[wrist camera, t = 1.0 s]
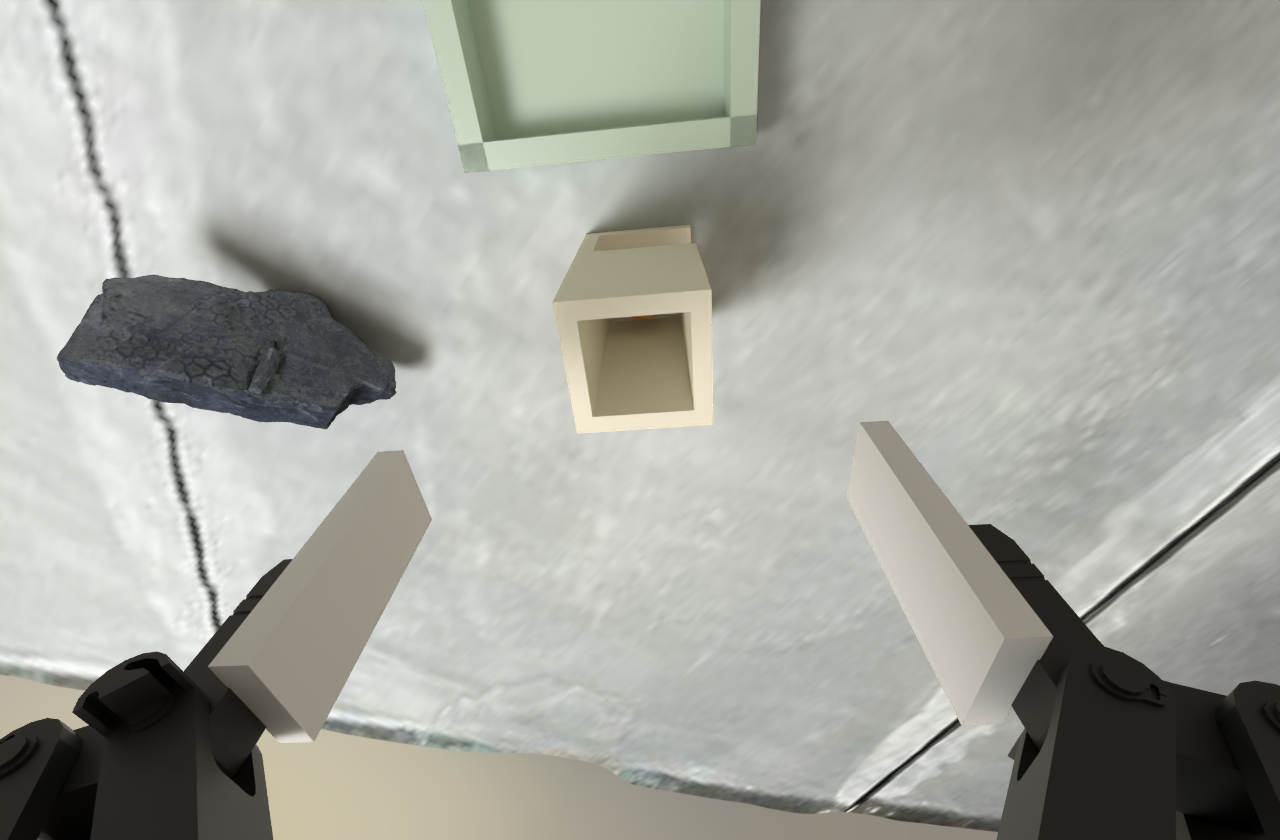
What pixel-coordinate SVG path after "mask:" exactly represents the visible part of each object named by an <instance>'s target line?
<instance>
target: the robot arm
mask: <svg viewBox="0 0 1280 840" xmlns="http://www.w3.org/2000/svg"><path fill="white" fill-rule="evenodd" d="M846 498H847V500H848V502H849V504H850V506H851V508H852V510H853V512H854V514H855V516H856V518H857V520H858V522H859V524H860V526H861V528H862V530H863V532H864V534H865V536H866V538H867V540H868V542H869V544H870V546H871V548H872V550H873V552H874V554H875V555H876V557H877V559H878V561H879V563H880V565H881V567H882V569H883V571H884V573H885V575H886V577H887V579H888V581H889V583H890V585H891V587H892V589H893V591H894V593H895V595H896V597H897V599H898V601H899V603H900V605H901V607H902V609H903V611H904V613H905V615H906V617H907V619H908V621H909V623H910V625H911V627H912V629H913V630H914V632H915V634H916V636H917V638H918V640H919V642H920V644H921V646H922V648H923V650H924V652H925V654H926V656H927V658H928V660H929V662H930V664H931V666H932V668H933V670H934V672H935V674H936V676H937V678H938V680H939V682H940V684H941V686H942V688H943V690H944V692H945V694H946V696H947V698H948V700H949V702H950V703H951V705H952V707H953V709H954V711H955V713H956V715H957V717H958V719H959V721H960V723H961V725H988V724H1003V722H1004V721H1005V719H1006V717H1007V716H1008V714H1009V712H1010V710H1011V709H1012V707H1013V709H1014V711H1015V712H1016V714H1017V716H1018V717H1019V719H1020V720H1021V722H1022V724H1023V725H1024V727H1025V729H1024V730H1023V732H1022V734H1021V735H1020V737H1019V738H1018V740H1017V742H1016V743H1015V745H1014V746H1013V748H1012V749H1011V751H1010V753H1009V754H1008V757H1010V758H1012V759H1013V760H1015V761H1014V765H1013V770H1012V774H1011V779H1010V783H1009V788H1008V792H1007V796H1006V801H1005V805H1004V810H1003V814H1002V818H1001V823H1000V827H999V832H998V837H997V840H1280V686H1279V685H1276V684H1271V683H1265V682H1259V681H1250V682H1244V683H1240V684H1239V685H1238V686H1237V687H1236V688H1235V689H1234V690H1233V691H1232V692H1231V693H1230V694H1229V695H1228V696H1225V695H1221V694H1216V693H1212V692H1208V691H1204V690H1199V689H1195V688H1191V687H1187V686H1182V685H1178V684H1174V683H1170V682H1167V681H1163V680H1161V679H1160V678H1159V677H1158V676H1157V675H1156V674H1155V673H1153V672H1152V671H1151V670H1150V669H1149V668H1147V667H1146V666H1145V665H1144V664H1142V663H1141V662H1139V661H1137V660H1135V659H1134V658H1132V657H1130V656H1128V655H1126V654H1124V653H1123V652H1120V651H1116V650H1113V649H1110V648H1107V647H1105V646H1104V645H1103V644H1102V643H1101V642H1100V641H1099V640H1098V639H1097V638H1096V637H1095V636H1094V635H1093V633H1092V632H1091V631H1090V630H1089V629H1088V627H1087V626H1086V625H1085V624H1084V623H1083V622H1082V620H1081V619H1080V618H1079V617H1078V616H1077V614H1076V613H1075V612H1074V611H1073V610H1072V609H1071V607H1070V606H1069V605H1068V604H1067V603H1066V601H1065V600H1064V599H1063V598H1062V597H1061V595H1060V594H1059V593H1058V592H1057V591H1056V590H1055V588H1054V587H1053V586H1052V585H1051V584H1050V582H1049V581H1048V580H1045V579H1044V575H1043V574H1042V573H1041V572H1040V571H1039V569H1038V568H1037V567H1036V566H1035V565H1034V564H1031V562H1030V559H1029V558H1028V556H1027V555H1026V554H1025V553H1024V552H1023V551H1022V549H1021V548H1020V547H1019V546H1018V545H1017V543H1016V542H1015V541H1014V540H1013V539H1011V538H1010V537H1008V536H1007V535H1005V534H1004V533H1002V532H1001V531H1000V530H998V529H997V528H995V527H994V526H992V525H991V524H983V525H968V524H967V523H966V522H965V521H964V519H963V518H962V517H961V515H960V514H959V513H958V511H957V510H956V509H955V507H954V506H953V505H952V504H951V502H950V501H949V500H948V498H947V497H946V496H945V494H944V493H943V492H942V491H941V489H940V488H939V487H938V485H937V484H936V483H935V481H934V480H933V479H932V477H931V476H930V475H929V474H928V472H927V471H926V470H925V468H924V467H923V466H922V464H921V463H920V462H919V461H918V459H917V458H916V457H915V455H914V454H913V453H912V451H911V450H910V449H909V447H908V446H907V445H906V444H905V442H904V441H903V440H902V438H901V437H900V436H899V434H898V433H897V432H896V431H895V429H894V428H893V427H892V425H891V424H890V423H889V421H876V422H860V424H859V430H858V436H857V441H856V447H855V452H854V458H853V463H852V469H851V475H850V480H849V486H848V491H847V497H846ZM431 520H432V519H431V516H430V514H429V511H428V509H427V507H426V504H425V502H424V499H423V497H422V495H421V492H420V490H419V487H418V485H417V483H416V480H415V478H414V475H413V473H412V470H411V468H410V466H409V463H408V461H407V458H406V456H405V454H404V451H403V450H401V451H385V452H378V453H377V454H376V455H375V456H374V458H373V459H372V460H371V461H370V463H369V464H368V465H367V466H366V468H365V469H364V470H363V471H362V473H361V474H360V475H359V477H358V478H357V479H356V480H355V482H354V483H353V484H352V485H351V487H350V488H349V489H348V490H347V492H346V493H345V494H344V495H343V497H342V498H341V499H340V500H339V502H338V503H337V504H336V506H335V507H334V508H333V509H332V511H331V512H330V513H329V514H328V516H327V517H326V518H325V519H324V521H323V522H322V523H321V524H320V526H319V527H318V528H317V530H316V531H315V532H314V533H313V535H312V536H311V537H310V538H309V540H308V541H307V542H306V543H305V545H304V546H303V547H302V548H301V550H300V551H299V552H298V553H297V555H296V556H295V557H294V559H287V560H283V561H282V562H280V563H279V564H278V565H277V566H275V567H274V568H273V569H271V570H270V571H269V572H268V573H266V574H265V575H264V576H263V577H262V578H261V579H260V580H259V581H258V582H257V584H256V585H255V586H254V587H253V588H252V590H251V591H250V592H249V593H248V595H247V598H246V600H243V601H242V602H241V603H240V604H239V605H238V607H237V608H236V609H235V610H234V611H233V612H234V614H233V615H232V616H229V617H228V619H227V620H226V621H225V622H224V623H223V625H222V626H221V627H220V628H219V629H218V631H217V632H216V633H215V634H214V636H213V637H212V638H211V639H210V640H209V642H208V643H207V644H206V645H205V646H204V648H203V649H202V650H201V651H200V652H199V654H198V655H197V656H196V657H195V658H194V660H193V661H192V662H191V663H190V664H189V666H188V667H187V668H186V669H185V671H184V672H183V671H182V670H181V669H180V668H179V667H178V666H177V665H176V664H175V663H174V662H173V661H172V660H171V659H170V658H169V657H168V656H167V655H166V654H163V653H160V652H151V653H143V654H141V655H138V656H135V657H133V658H130V659H128V660H125V661H124V662H122V663H120V664H119V665H117V666H115V667H113V668H112V669H110V670H108V671H107V672H106V673H105V674H103V675H102V676H101V677H100V678H98V679H97V680H96V681H95V682H93V683H92V684H91V685H90V686H89V687H88V689H87V690H86V691H85V692H84V693H83V694H82V695H81V697H80V698H79V699H78V701H77V703H76V706H75V707H74V710H73V713H74V714H75V715H77V716H78V717H79V718H81V719H82V720H83V721H85V722H86V723H87V724H88V725H89V726H86V727H82V728H79V729H76V730H72V729H70V728H69V727H68V726H67V725H65V724H64V723H63V722H61V721H60V720H58V719H50V718H46V719H43V720H39V721H35V722H31V723H29V724H27V725H25V726H23V727H21V728H19V729H16V730H14V731H12V732H11V733H9V734H8V735H6V736H5V737H3V738H2V739H0V840H273V834H272V827H271V819H270V812H269V805H268V796H267V789H266V782H265V774H264V766H263V759H262V754H261V752H260V750H259V748H258V746H257V745H256V743H257V741H258V740H259V738H260V736H261V735H262V733H263V731H264V730H265V728H266V729H267V730H268V731H269V732H270V734H272V736H273V737H274V738H275V739H276V740H277V741H278V742H279V743H287V742H288V743H290V742H314V741H315V739H316V737H317V735H318V733H319V731H320V730H321V728H322V726H323V724H324V722H325V720H326V718H327V717H328V715H329V713H330V711H331V709H332V707H333V705H334V703H335V701H336V700H337V698H338V696H339V694H340V692H341V690H342V688H343V686H344V684H345V683H346V681H347V679H348V677H349V675H350V673H351V671H352V669H353V668H354V666H355V664H356V662H357V660H358V658H359V656H360V654H361V652H362V651H363V649H364V647H365V645H366V643H367V641H368V639H369V637H370V635H371V634H372V632H373V630H374V628H375V626H376V624H377V622H378V620H379V618H380V617H381V615H382V613H383V611H384V609H385V607H386V605H387V603H388V602H389V600H390V598H391V596H392V594H393V592H394V590H395V588H396V586H397V585H398V583H399V581H400V579H401V577H402V575H403V573H404V571H405V569H406V568H407V566H408V564H409V562H410V560H411V558H412V556H413V554H414V553H415V551H416V549H417V547H418V545H419V543H420V541H421V539H422V537H423V536H424V534H425V532H426V530H427V528H428V526H429V524H430V522H431Z"/></svg>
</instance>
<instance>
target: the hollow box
mask: <svg viewBox="0 0 1280 840" xmlns="http://www.w3.org/2000/svg"><path fill="white" fill-rule="evenodd" d="M553 308H554V313H555V318H556V324H557V329H558V334H559V340H560V345H561V350H562V355H563V361H564V366H565V371H566V377H567V382H568V387H569V393H570V398H571V403H572V409H573V414H574V419H575V425H576V430H577V434H578V433H593V432H609V431H624V430H639V429H655V428H670V427H686V426H701V425H713V368H712V289H711V286H710V283H709V280H708V277H707V274H706V272H705V269H704V266H703V263H702V260H701V257H700V254H699V251H698V248H697V245H696V243H691V227H690V225H679V226H668V227H657V228H646V229H635V230H624V231H613V232H602V233H591V234H586V236H585V238H584V240H583V242H582V244H581V246H580V248H579V250H578V252H577V254H576V256H575V258H574V260H573V262H572V264H571V266H570V268H569V270H568V272H567V274H566V276H565V278H564V280H563V282H562V284H561V286H560V288H559V290H558V292H557V294H556V296H555V298H554V301H553ZM644 315H656V316H654V317H652V318H649V319H635V318H632V316H644Z"/></svg>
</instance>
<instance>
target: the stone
mask: <svg viewBox="0 0 1280 840" xmlns="http://www.w3.org/2000/svg"><path fill="white" fill-rule="evenodd" d="M102 289H103V290H102V291H103V294H101V295H98V296H97V297H96V298H95V299H94V301H93V302H92V304H91V305H90V307H89V309H88V310H87V312H86V314H85V315H84V317H83V319H82V321H81V323H80V324H79V325H78V326H77V328H76V330H75V331H74V333H73V334H72V336H71V338H70V339H69V341H68V342H67V344H66V346H65V347H64V348H63V349H62V350H61V351H60V353H59V355H58V356H57V360H58V361H59V365H60V368H61V370H62V371H63V372H64V373H65V374H66V375H65V376H66V377H67V378H68V379H70V380H73V381H77V382H83V383H85V384H89V385H101V386H105V387H110V388H115V389H119V390H122V391H125V392H133V393H136V394H138V395H142V396H145V397H147V398H149V399H153V400H157V401H161V402H168V403H184V404H186V405H188V406H191V407H194V408H199V409H204V410H212V411H217V412H221V413H231V414H233V415H238V416H241V417H244V418H248V419H251V420H254V421H258V422H291V423H295V424H299V425H307V426H311V427H315V428H322V429H327V428H328V427H329V426H330V424H331V423H332V422H333V421H334V419H335V417H336V416H337V415H338V414H340V413H342V412H343V411H344V410H345V409H347V408H348V406H349V405H351V404H355V405H362V404H366V403H372V402H374V401H375V400H379V399H390V398H391V397H392V396H394V395H395V394H396V391H395V388H396V381H395V368H394V366H393V364H392V362H391V361H390V360H387V359H383V358H380V357H378V356H377V355H376V354H375V353H373V352H372V351H371V350H370V349H369V348H368V347H367V346H366V345H365V344H364V343H363V342H362V341H361V339H360V338H359V337H358V336H356V335H355V334H354V333H353V332H352V331H351V330H350V329H349V328H348V327H347V326H345V325H344V324H342V323H340V322H338V321H336V320H333V318H332V317H331V315H330V313H329V311H328V307H327V306H326V304H325V303H324V302H323V301H322V300H321V299H319V298H317V297H316V296H314V295H312V294H310V293H302V292H299V293H290V292H288V291H284V290H279V289H276V290H269V291H266V292H250V291H249V292H242V291H239V290H237V289H231V288H226V287H221V286H218V285H215V284H212V283H209V282H204V281H195V280H188V279H185V278H168V277H163V276H158V275H148V276H142V277H137V278H112V279H106V280H105V281H104V282H103V286H102Z"/></svg>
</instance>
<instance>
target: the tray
mask: <svg viewBox="0 0 1280 840" xmlns="http://www.w3.org/2000/svg"><path fill="white" fill-rule="evenodd" d="M422 2H423V6H424V10H425V14H426V18H427V22H428V26H429V30H430V34H431V38H432V42H433V46H434V50H435V54H436V58H437V62H438V66H439V70H440V74H441V78H442V82H443V86H444V90H445V94H446V98H447V102H448V106H449V110H450V114H451V118H452V122H453V126H454V130H455V134H456V138H457V143H458V147H459V151H460V155H461V159H462V163H463V167H464V171H465V173H471V172H481V171H491V170H502V169H512V168H522V167H532V166H542V165H552V164H562V163H572V162H582V161H593V160H603V159H613V158H623V157H633V156H643V155H653V154H663V153H673V152H684V151H694V150H704V149H714V148H724V147H734V146H744V145H754V144H756V128H757V96H758V65H759V34H760V2H761V0H422Z"/></svg>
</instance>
